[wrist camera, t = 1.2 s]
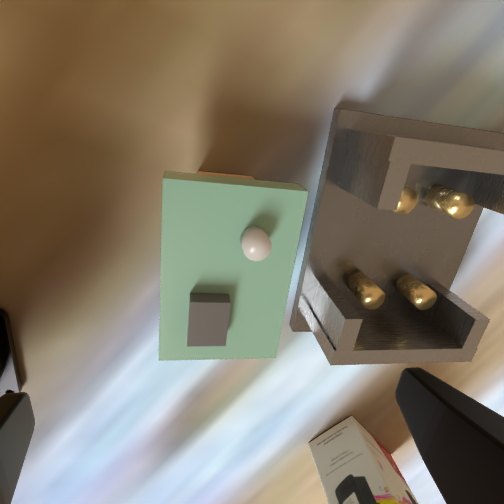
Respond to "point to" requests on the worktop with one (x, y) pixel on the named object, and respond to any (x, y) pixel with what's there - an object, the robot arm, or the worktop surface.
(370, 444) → the ink box
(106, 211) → the worktop surface
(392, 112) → the worktop surface
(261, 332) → the board
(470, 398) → the robot arm
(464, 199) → the chassis
